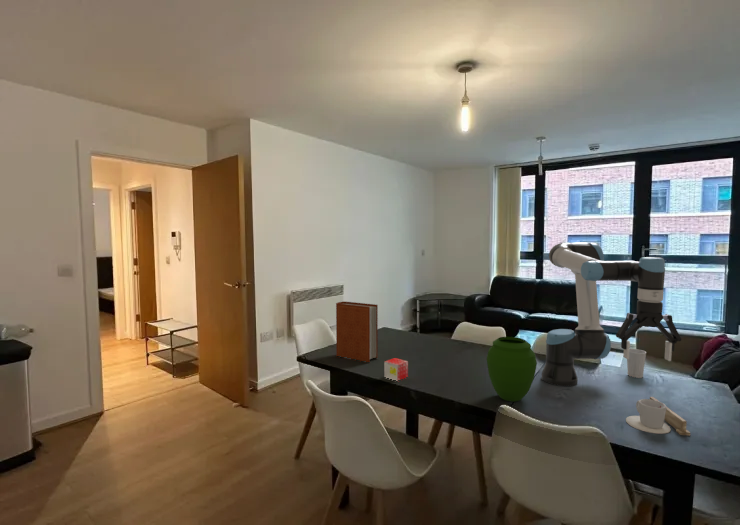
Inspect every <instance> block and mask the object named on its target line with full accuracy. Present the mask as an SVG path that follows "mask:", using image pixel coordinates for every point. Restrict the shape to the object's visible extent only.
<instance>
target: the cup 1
mask: <svg viewBox="0 0 740 525" xmlns="http://www.w3.org/2000/svg"><path fill="white" fill-rule="evenodd" d="M646 357H647V351H645V350H642V349H637V348H629V359H626V364H627V365H626V366H627V372H626V373H627V374H628V375H629V377H631V376H632V377H631V378H635V377H636V379H643V378H644V370H645V364H646ZM628 375H627V376H628ZM642 377H643V378H642Z"/></svg>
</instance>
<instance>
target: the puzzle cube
mask: <svg viewBox="0 0 740 525" xmlns="http://www.w3.org/2000/svg"><path fill="white" fill-rule="evenodd" d="M383 369H384V374H383V375H384V376H383V377H386V378H385V379H387V378H389V379H388V380H390V379H392V380H391V381H393V380H396V381H398V380H401V379H403V380H405V379H407V378H406V377H408V378H409V361H408V360H404V359H400V358H397V357H394V358H391V359H387V360H386V361H385V360H384V368H383ZM404 378H405V379H404ZM396 381H395V382H396ZM401 381H402V380H401ZM398 382H399V381H398Z"/></svg>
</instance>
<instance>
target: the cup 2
mask: <svg viewBox="0 0 740 525" xmlns="http://www.w3.org/2000/svg"><path fill="white" fill-rule="evenodd" d="M635 403H636V405H635V407H636V411H637V412H638V413H639V416H640V421H641V423H642V424H643V425H644V426H646V427H649V428H653V429H660V428H662V427H663V425H664V423H665V420H664V419H665V414H666V408H667V405H666V404H665V403H664V402H661V401H659V400H658V401H655V400H650V398H649V399H647V398H643V399H639V400H637V401H636V402H635Z"/></svg>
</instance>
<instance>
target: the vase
mask: <svg viewBox="0 0 740 525" xmlns="http://www.w3.org/2000/svg"><path fill="white" fill-rule="evenodd" d="M537 364H538V362H537V357H536V353H535V352H534V350H533V349H532V344H531V343H530V342H528V341H527V340H526V339H524V338H522V337H518V336H517V337H516V336H500V337H497V338H496V339H495V340H493V341H492V346H490V347H489V349H488V351H487V355H486V365H487V373H488V377H489V379H490V381H491V385H492V388H493V389H494V391H495V392H496V395H498V397H499V398H500V399H502V400H504V401H507V402H514V403H515V402H516V403H517V402H519V401H521V400H523V398H524V397H526V395H527V393H528V392H529V391H530V389H531V387H532V385H533V381H534V380H535V375H536V370H537Z"/></svg>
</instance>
